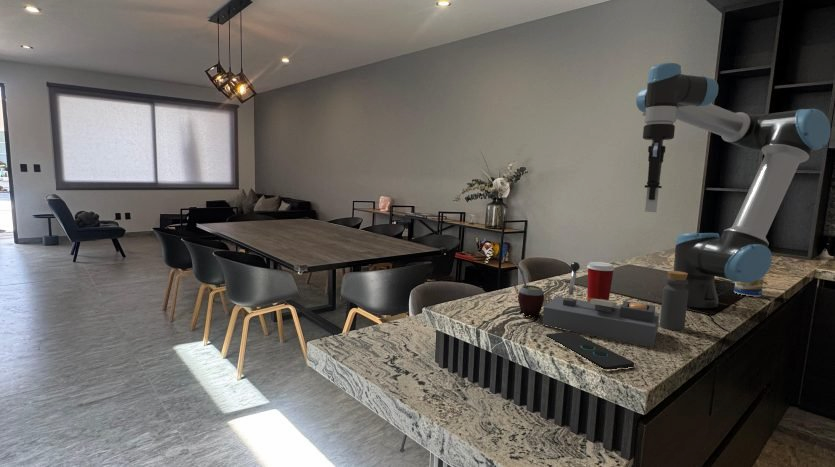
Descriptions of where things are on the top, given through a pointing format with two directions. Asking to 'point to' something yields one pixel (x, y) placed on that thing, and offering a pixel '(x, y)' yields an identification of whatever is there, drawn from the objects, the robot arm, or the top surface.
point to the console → (604, 320)
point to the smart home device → (591, 351)
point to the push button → (638, 306)
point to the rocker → (603, 302)
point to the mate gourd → (530, 298)
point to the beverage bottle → (749, 288)
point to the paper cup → (599, 280)
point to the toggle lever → (573, 276)
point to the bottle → (674, 301)
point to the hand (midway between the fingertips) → (650, 211)
